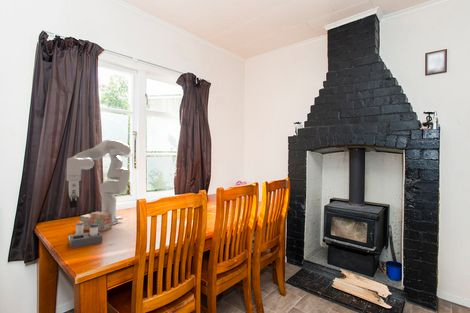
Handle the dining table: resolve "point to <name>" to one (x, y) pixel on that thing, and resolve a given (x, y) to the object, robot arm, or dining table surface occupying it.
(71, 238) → the socket strip
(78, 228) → the plug
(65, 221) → the dining table surface
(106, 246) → the dining table surface
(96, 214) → the stack of blocks
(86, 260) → the dining table surface
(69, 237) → the tray
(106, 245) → the dining table surface
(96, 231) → the grey capped white peg
